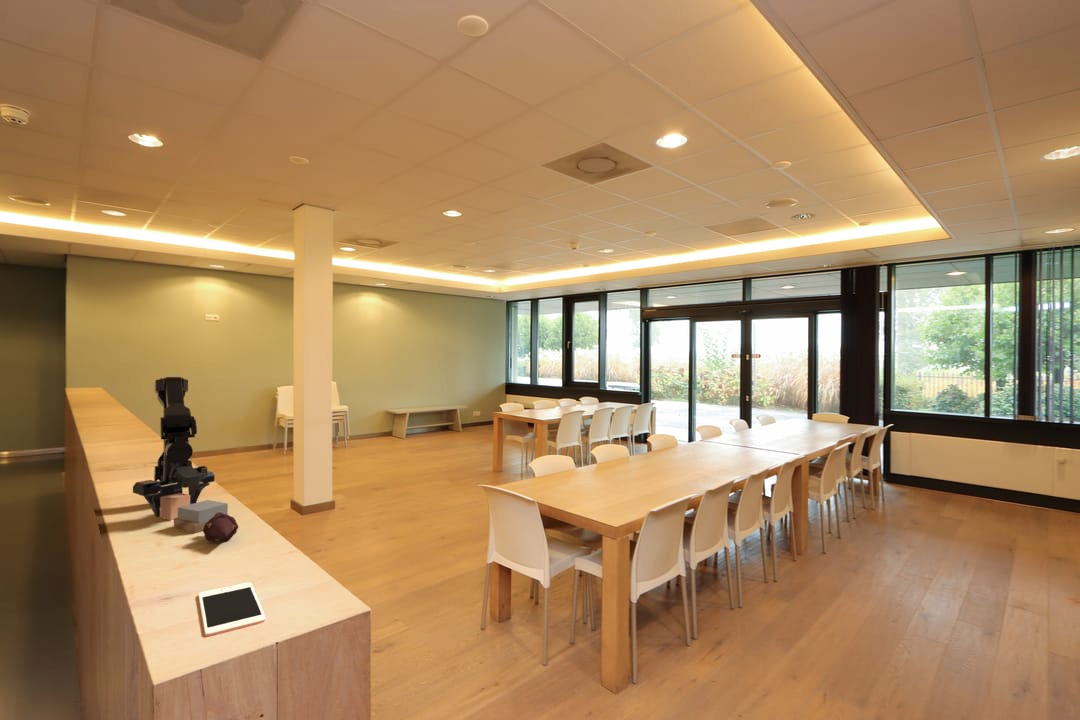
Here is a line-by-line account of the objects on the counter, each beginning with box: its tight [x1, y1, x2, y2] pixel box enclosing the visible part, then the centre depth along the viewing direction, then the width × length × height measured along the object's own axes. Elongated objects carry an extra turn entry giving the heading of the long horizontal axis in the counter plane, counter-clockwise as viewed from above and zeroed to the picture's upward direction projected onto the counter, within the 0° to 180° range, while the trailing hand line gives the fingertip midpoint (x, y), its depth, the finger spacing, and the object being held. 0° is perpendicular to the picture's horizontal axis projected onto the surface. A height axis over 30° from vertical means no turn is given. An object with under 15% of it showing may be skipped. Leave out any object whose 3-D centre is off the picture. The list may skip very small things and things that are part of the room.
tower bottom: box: [173, 514, 230, 535], centre depth 138 cm, size 9×9×3 cm
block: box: [159, 493, 190, 521], centre depth 145 cm, size 5×5×6 cm
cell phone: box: [197, 581, 267, 637], centre depth 93 cm, size 9×18×1 cm, turn 37°
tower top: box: [178, 499, 229, 523], centre depth 138 cm, size 8×8×3 cm
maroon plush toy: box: [202, 512, 239, 545], centre depth 126 cm, size 7×7×15 cm
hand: (175, 512), depth 145 cm, fingers open, 9 cm apart
